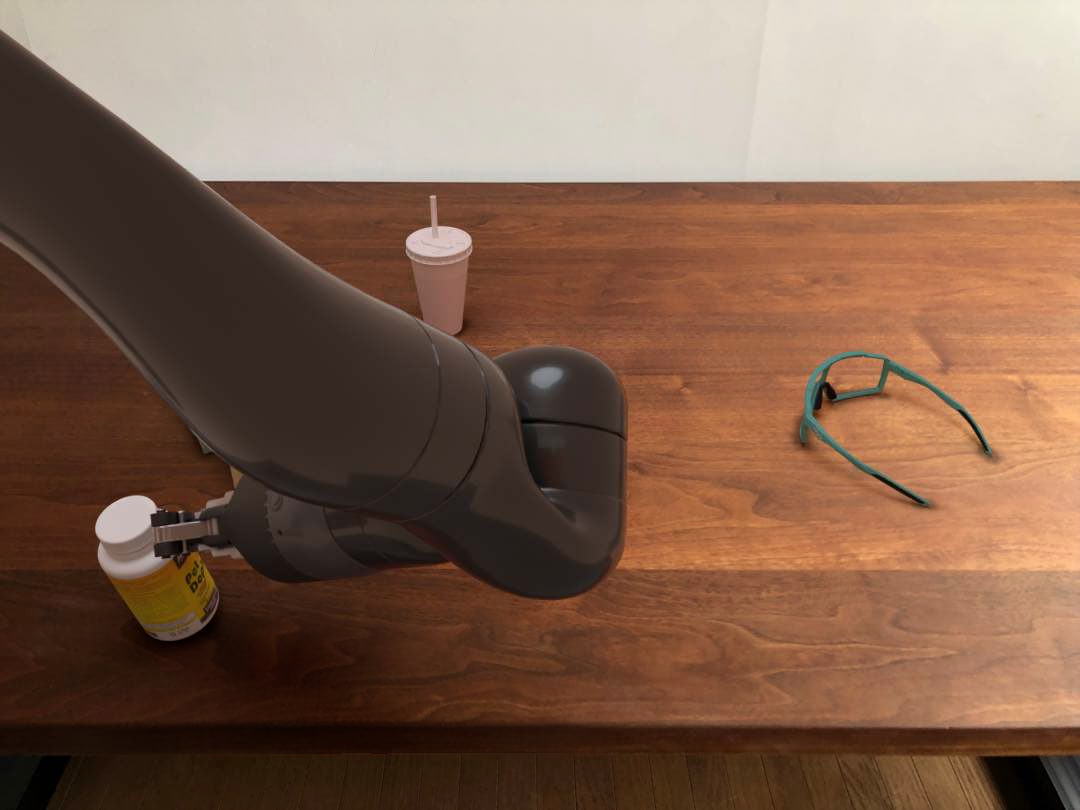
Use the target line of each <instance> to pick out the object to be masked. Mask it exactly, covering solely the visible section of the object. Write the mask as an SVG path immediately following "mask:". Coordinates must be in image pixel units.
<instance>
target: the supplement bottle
mask: <svg viewBox="0 0 1080 810" xmlns="http://www.w3.org/2000/svg"><path fill="white" fill-rule="evenodd" d="M157 510H163V509H161V508H158V506H157V505H156V503H155V502H154V501H153V500H152V499H151V498H149V497H147V496H145V495H129V496H126V497H125V496H124V497H123V498H120V499H118V500H116V501H114V502H112V503H111V504H110V505H108V506H106V507H105V509H104V510H103V511H102V512H101V513H100V514H99V516H98V518H97V520H96V522H95V526H94V527H95V528H94V531H95V535H96V537H97V539H98V540H99V543H98V544H99V545H98V548H97V560H98V563H99V565H100V567H101V569H102V570H103V572H104V574H106V576H107V578H108V580H110V582H111V583H112V585H113V587H114V588H115V589H116V591H117V592H118V594H119V595H120V596H121V598H122V599H123V601H124V602H125V604H126V605H127V607H128V608H129V610H130V611H131V613H132V614H133V615H134V617H135V618H136V620H137V622H138V623H139V624H140V626H141V627H142V628H143V630H144V631H145V632H146V633H147V634H148V635H149V636H150V637H152V638H154V639H157V640H159V641H166V642H173V641H180V640H182V639H186V638H188V637H191V636H192V635H194V634H196V633H198V632H199V631H200V630H202V629H203V628H204V627H205V626H206V625H207V624H208V623H210V621H211V620H212V619H213V617H214V615H215V613H216V612H217V609H218V606H219V603H220V602H219V601H220V593H219V590H218V587H217V584H216V583H215V581H214V579H213V577H212V576H211V573H210V572H209V570H208V568H207V567H206V565H205V564H204V561H203V560H202V558H201V556H200V553H198V552H199V551H197V552H192V553H190V554H191V555H189V556H182V554H178V555H171V558H167V559H162V557H155V555H154V546H153V545H155V544H153V537H152V527H151V518H150V514H154V513H157ZM166 512H169V511H168V510H166Z"/></svg>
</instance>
